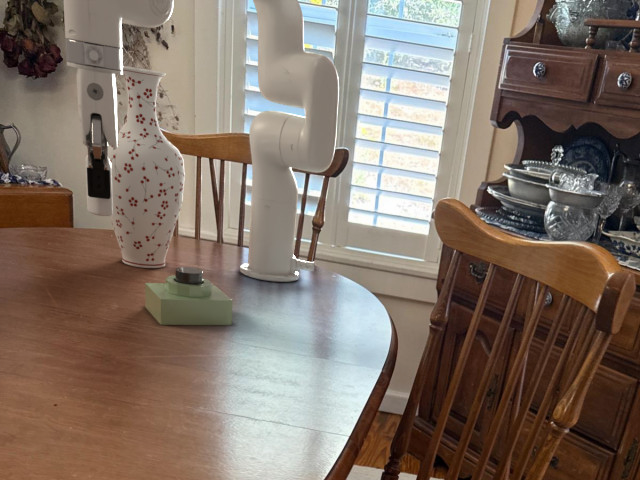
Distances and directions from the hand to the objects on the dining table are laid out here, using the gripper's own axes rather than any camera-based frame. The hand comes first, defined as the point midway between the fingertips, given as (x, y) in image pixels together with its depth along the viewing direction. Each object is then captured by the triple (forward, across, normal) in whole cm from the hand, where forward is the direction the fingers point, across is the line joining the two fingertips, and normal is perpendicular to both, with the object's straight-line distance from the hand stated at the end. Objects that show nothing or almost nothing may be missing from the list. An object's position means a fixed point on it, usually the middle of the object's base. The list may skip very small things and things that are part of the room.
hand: (99, 193), depth 119 cm
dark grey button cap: (+13, 0, -14) cm, 19 cm away
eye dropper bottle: (+3, 0, 0) cm, 3 cm away
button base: (+18, 0, -14) cm, 23 cm away
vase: (+18, +37, -8) cm, 42 cm away
